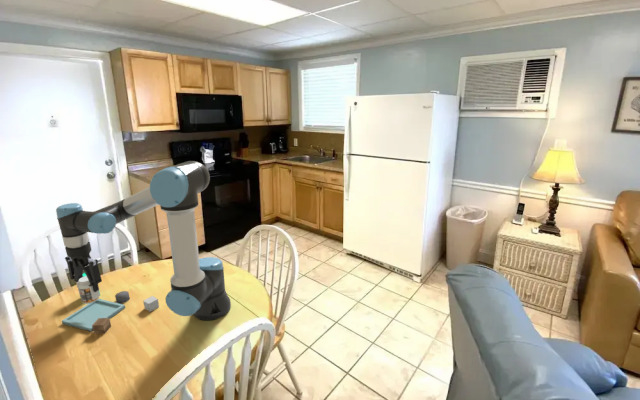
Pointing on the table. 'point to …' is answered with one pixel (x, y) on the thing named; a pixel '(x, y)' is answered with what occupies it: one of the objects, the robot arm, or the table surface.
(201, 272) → the robot arm
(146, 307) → the grey block
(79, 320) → the tray
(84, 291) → the pill bottle
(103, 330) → the walnut block
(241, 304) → the table surface
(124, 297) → the dark grey stone
